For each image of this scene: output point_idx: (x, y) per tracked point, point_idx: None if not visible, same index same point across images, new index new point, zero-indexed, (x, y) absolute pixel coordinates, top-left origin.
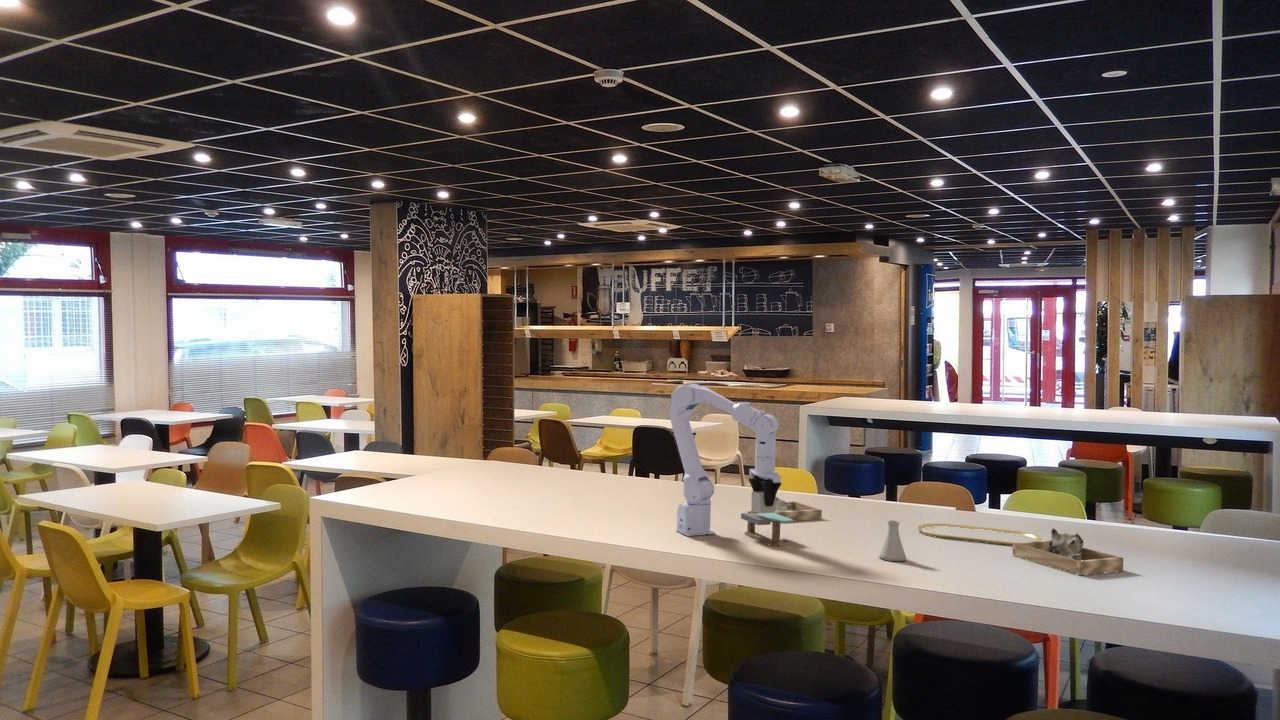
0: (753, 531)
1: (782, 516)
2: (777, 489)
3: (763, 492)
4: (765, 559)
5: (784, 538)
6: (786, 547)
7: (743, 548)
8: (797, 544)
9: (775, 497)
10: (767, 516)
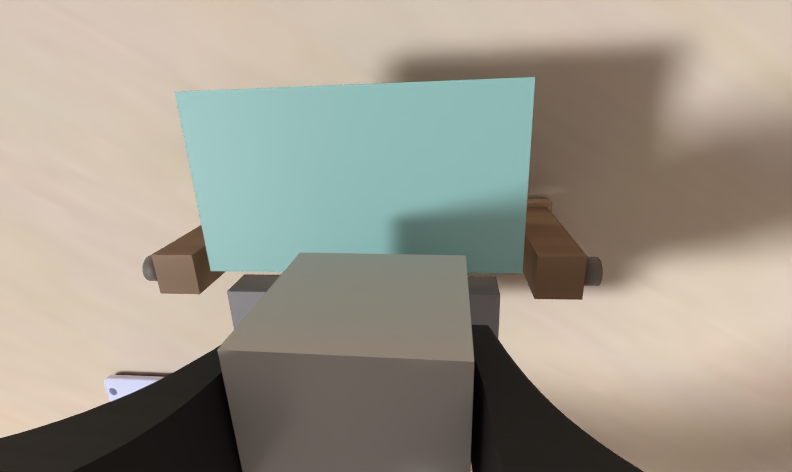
0: None
1: (353, 96)
2: (601, 455)
3: (346, 456)
4: (773, 415)
5: (375, 68)
6: (598, 187)
7: None
8: (555, 74)
9: (471, 331)
10: (329, 224)
